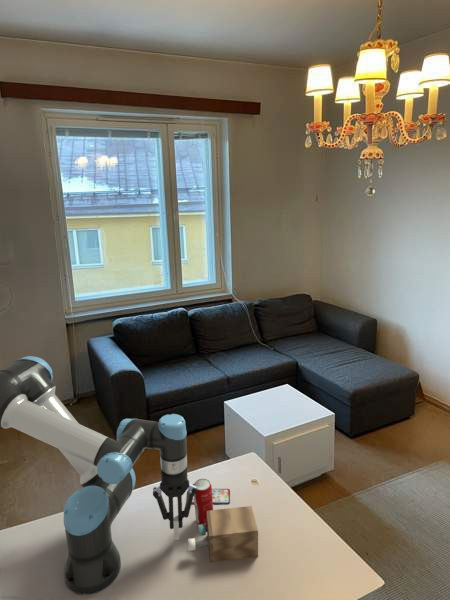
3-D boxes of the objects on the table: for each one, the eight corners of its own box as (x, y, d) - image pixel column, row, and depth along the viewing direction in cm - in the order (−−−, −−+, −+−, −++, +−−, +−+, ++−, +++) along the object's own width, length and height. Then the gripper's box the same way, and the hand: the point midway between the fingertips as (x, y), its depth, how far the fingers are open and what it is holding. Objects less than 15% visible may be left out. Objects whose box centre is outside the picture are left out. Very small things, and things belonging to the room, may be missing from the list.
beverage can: (214, 516, 139) (213, 476, 136) (212, 531, 133) (210, 490, 129) (197, 515, 140) (195, 475, 136) (193, 530, 133) (191, 489, 130)
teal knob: (199, 538, 126) (198, 530, 126) (198, 530, 129) (198, 522, 129) (225, 535, 127) (225, 527, 127) (224, 527, 130) (224, 519, 130)
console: (210, 562, 122) (209, 536, 120) (207, 535, 131) (206, 510, 129) (258, 556, 123) (258, 530, 121) (251, 530, 133) (251, 505, 131)
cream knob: (188, 553, 121) (188, 544, 121) (188, 545, 124) (187, 536, 123) (216, 550, 122) (216, 541, 121) (215, 541, 125) (215, 533, 124)
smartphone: (229, 503, 144) (185, 503, 145) (229, 505, 144) (186, 505, 145) (229, 488, 151) (188, 488, 152) (229, 490, 152) (188, 490, 152)
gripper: (150, 477, 117) (154, 548, 123) (197, 473, 119) (199, 543, 124) (151, 461, 124) (155, 528, 130) (195, 457, 126) (197, 524, 132)
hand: (176, 536), depth 127 cm, fingers closed
